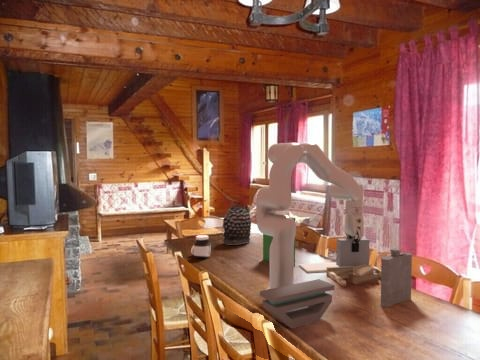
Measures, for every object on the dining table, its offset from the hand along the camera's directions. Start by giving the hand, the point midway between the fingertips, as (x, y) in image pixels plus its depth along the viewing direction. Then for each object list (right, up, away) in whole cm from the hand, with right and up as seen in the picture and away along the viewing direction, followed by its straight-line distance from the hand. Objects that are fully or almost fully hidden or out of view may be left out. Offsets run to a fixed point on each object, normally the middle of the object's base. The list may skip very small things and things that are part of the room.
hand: (352, 250), depth 179 cm
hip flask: (+7, -14, -32) cm, 36 cm away
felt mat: (-10, -11, +14) cm, 20 cm away
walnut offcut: (+2, -13, -8) cm, 15 cm away
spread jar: (-73, -10, +38) cm, 83 cm away
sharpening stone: (-32, -15, -48) cm, 60 cm away
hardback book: (-31, -11, +25) cm, 41 cm away
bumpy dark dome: (-53, -8, +72) cm, 90 cm away
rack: (+1, -12, -4) cm, 13 cm away
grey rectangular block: (0, -7, 0) cm, 7 cm away
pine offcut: (+2, -9, -8) cm, 12 cm away
